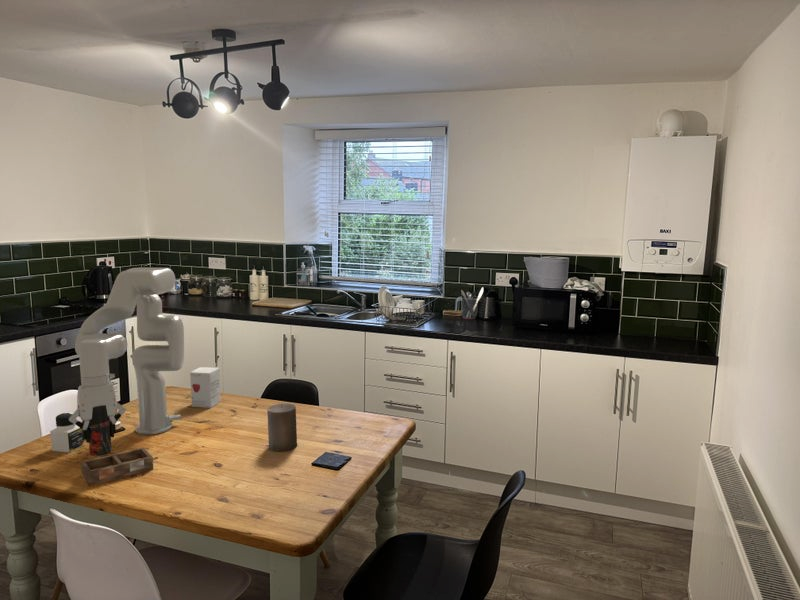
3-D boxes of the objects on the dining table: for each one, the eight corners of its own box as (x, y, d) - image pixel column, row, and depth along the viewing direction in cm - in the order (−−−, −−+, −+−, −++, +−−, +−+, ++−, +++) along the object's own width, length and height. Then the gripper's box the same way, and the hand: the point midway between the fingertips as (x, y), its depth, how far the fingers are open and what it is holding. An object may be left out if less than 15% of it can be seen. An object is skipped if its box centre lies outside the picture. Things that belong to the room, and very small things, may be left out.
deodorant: (116, 450, 175) (113, 402, 173) (98, 457, 170) (95, 408, 168) (102, 447, 178) (99, 400, 176) (85, 454, 172) (81, 405, 170)
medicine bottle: (69, 453, 192) (66, 418, 190) (51, 451, 193) (48, 417, 192) (85, 444, 199) (82, 411, 197) (67, 443, 200) (64, 410, 199)
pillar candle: (303, 445, 198) (301, 403, 196) (279, 454, 191) (277, 410, 189) (286, 438, 205) (284, 397, 203) (262, 446, 198) (261, 404, 196)
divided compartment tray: (143, 459, 187) (143, 447, 187) (153, 469, 179) (152, 457, 179) (81, 474, 176) (80, 462, 175) (89, 486, 168) (88, 473, 167)
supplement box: (190, 407, 239) (189, 372, 237) (201, 400, 248) (200, 366, 246) (211, 408, 237) (209, 372, 235) (221, 401, 246) (219, 367, 244)
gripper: (123, 373, 179) (127, 428, 182) (60, 382, 168) (64, 442, 171) (130, 377, 173) (133, 435, 176) (65, 388, 162) (69, 449, 165)
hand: (99, 438), depth 173 cm, fingers closed on deodorant, 5 cm apart
